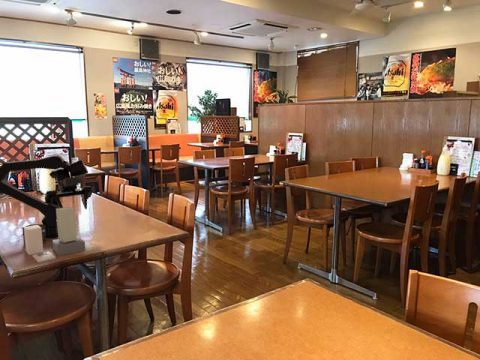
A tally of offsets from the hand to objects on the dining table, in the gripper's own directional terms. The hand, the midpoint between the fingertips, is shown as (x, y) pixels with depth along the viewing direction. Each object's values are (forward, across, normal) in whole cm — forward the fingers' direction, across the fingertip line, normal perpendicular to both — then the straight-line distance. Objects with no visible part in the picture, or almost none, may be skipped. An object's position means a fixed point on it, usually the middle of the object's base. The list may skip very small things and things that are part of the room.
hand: (75, 210), depth 160 cm
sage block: (+12, -6, +2) cm, 14 cm away
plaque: (+17, -16, +2) cm, 24 cm away
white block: (+11, -17, +8) cm, 22 cm away
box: (+2, -14, +17) cm, 22 cm away
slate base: (+15, -6, +5) cm, 17 cm away
